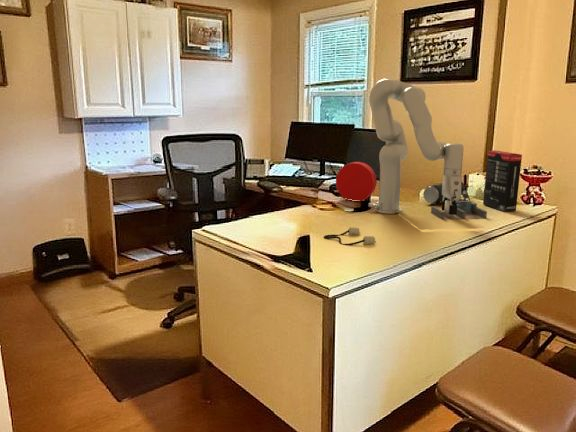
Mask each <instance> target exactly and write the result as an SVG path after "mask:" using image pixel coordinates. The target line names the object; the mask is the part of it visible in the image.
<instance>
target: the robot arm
mask: <svg viewBox="0 0 576 432" xmlns="http://www.w3.org/2000/svg"><path fill="white" fill-rule="evenodd" d="M426 98H427V96H426V93H425V91H424V90H423V89H422V88H421V87H419V86H418V87H417V86H415V85H411V84H409V83H406V82H403V81H401V80H397V79H391V78H383V79H380V80H378V81H377V82H376V83H375V84H374V85H373V86H372V88H371V90H370V92H369V99H368V100H369V107H370V110H371V115H372V119H373V124H374V128H375V133H376V135H377V138H378V139H379V140H380V141H383V142H385V144H384V146H382V147H381V149H380V151H379V155H378V157H379V158H378V159H379V187H378V189H379V190H378V200H376V201H375V202H368V204H367V205H368V206H367V207H369V208H374V211H375V212H376V213H380V214H388V215H393V214H399V213H400V212H402V211H403V209H402V207H400V199H401V198H400V197H401V180H402V167H401V162H403V161H404V160H405V159H406V158H407V157H408V153H409V151H408V150H409V149H408V145H407V140H406V139H407V138H406V135H405V131H404V128H403V125H402V123H401V122H400V121H398V120H397V119H394V117H393V113H392V109H391V106H390V103H389V99H392V100H396V101H398V102H400V103H402V104H403V107H404V109H405V111H406V113H407V115H408V117H409V120H410V122H411V124H412V126H413V131H414V135H415V140H416V143H417V144H418V147H419V149H420V151H421V153H422V155H423V156H424V158H425V159H426V160H428V161H430V162H431V161H432V162H435V161H437V160H442V159H443V169H442V176H443V178H442V179H443V180H442V183H443V184H442V198H443V199H442V201H441V210H442V211H443V212H444V209H445V200H447V198H448V199H450V204H451V205H450V207H449V214H450V215H456V214H457V206H458V202H459V201H461V197H462V195H461V181H462V178H461V177H462V169H463V160H464V159H463V157H464V145H463V144H462V143H456V142H455V143H453V142H451V143H449V142H441V141H437V140H436V138H435V135H434V132H433V129H432V123H433V117H432V114H431V112H430V110H429V108H428V106H427V104H426V102H425V101H426ZM452 200H454V201H452Z"/></svg>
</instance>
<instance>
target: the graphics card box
mask: <svg viewBox="0 0 576 432" xmlns="http://www.w3.org/2000/svg"><path fill="white" fill-rule="evenodd" d="M522 158H523V154H519V153H515V152H508V151H503V150H502V151H501V150H488V151H487V159H486V168H485V169H486V170H485V179H484V189H483V191H484V193H483V202H482V205H484V206H487V207H490V208H493V209H494V210H495V209H496V210H498V211H500V212H504V213H507V212H508V213H509V212H516V211H517V204H518V195H519V193H518V192H519V185H520V184H519V183H520V178H521V177H520V176H521V169H522V168H521V167H522Z"/></svg>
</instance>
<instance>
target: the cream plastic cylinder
mask: <svg viewBox="0 0 576 432" xmlns="http://www.w3.org/2000/svg"><path fill="white" fill-rule="evenodd" d="M452 201H454V200H452ZM450 205H451V204H450V199H448V198H447V200H445V209H444V211H443V212H445V215H444V216H445V217H453V216H454V215H450V214H449V207H450Z"/></svg>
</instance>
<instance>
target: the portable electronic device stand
mask: <svg viewBox="0 0 576 432" xmlns="http://www.w3.org/2000/svg"><path fill="white" fill-rule="evenodd" d="M462 198H463V200H462V201H467V199H468V201H471V198H470V196H469V193H468V191H467V190H465V191H463V194H462Z"/></svg>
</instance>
